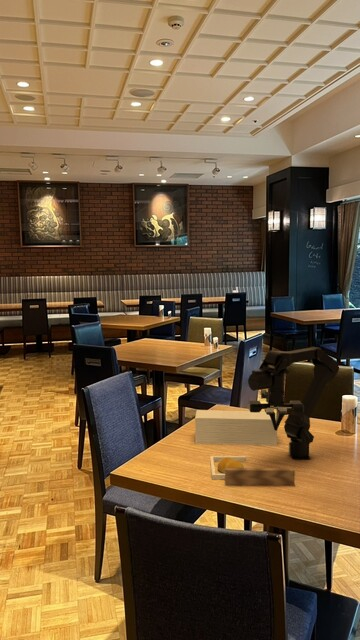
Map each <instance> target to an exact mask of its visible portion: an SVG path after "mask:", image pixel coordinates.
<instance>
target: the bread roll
mask: <svg viewBox="0 0 360 640" xmlns="http://www.w3.org/2000/svg"><path fill="white" fill-rule="evenodd" d="M225 468H245V466H244V464H243V462H242V461H234V460H233V459H231V458H224V459H222V460H221V461H218V462H217V469H218V471H219V472H220V473H221V474H225Z"/></svg>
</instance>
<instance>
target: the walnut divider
mask: <svg viewBox="0 0 360 640" xmlns="http://www.w3.org/2000/svg"><path fill="white" fill-rule="evenodd" d="M224 474H225V479H224V485H225V486H282V487H283V486H290V487H291V486H294V487H295V479H296V478H295V475H296V471H295V468H291V467H289V468H287V467H285V468H284V467H283V468H280V467H279V468H278V467H277V468H276V467H275V468H273V467H270V468H268V467H266V468H265V467H262V468H261V467H259V468H258V467H254V468H253V467H250V468H249V467H248V468H247V467H244V468H225V473H224Z"/></svg>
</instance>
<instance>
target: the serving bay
mask: <svg viewBox="0 0 360 640" xmlns="http://www.w3.org/2000/svg"><path fill="white" fill-rule="evenodd" d="M224 458H231V459H233V460H234V461H240V462H248V457H247V455H245V456H244V455H237V456H236V455H210V458H209V459H210V461H209V462H210V471H211V479H212V480H225V473H216V472H215V471H216V470H215V462H220V461H221V460H222V459H224Z"/></svg>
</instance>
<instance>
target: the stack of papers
mask: <svg viewBox="0 0 360 640" xmlns="http://www.w3.org/2000/svg"><path fill="white" fill-rule="evenodd" d="M276 414H277V413H275V419H276ZM194 420H195V421H194V422H195V425H194V427H195V428H194V429H195V431H194V435H195V437H194V438H195V440H194V443H195V444H196V445H197V444H200V445H230V444H233V446H235V445H237V446H239V445H240V446H268V447H269V446H275V447H277V446H278V429H277V430H274V427H273V424H272V421H271V418H270V416H269V415H267V414H266V412H265V410H264V411H263V410H261V411H260V412H250V410H222V409H221V410H219V409H218V410H217V409H216V410H214V409H209V410H208V409H196V412H195V417H194Z"/></svg>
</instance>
